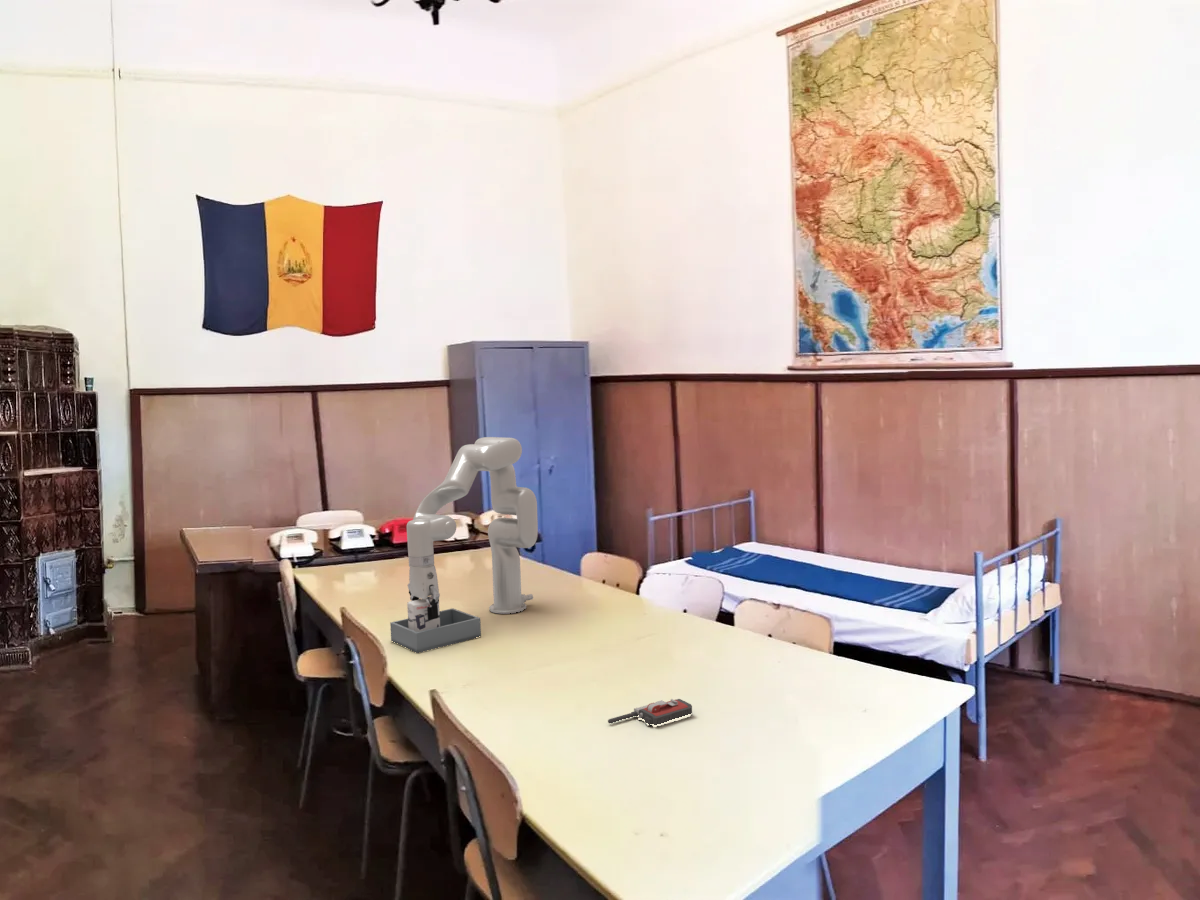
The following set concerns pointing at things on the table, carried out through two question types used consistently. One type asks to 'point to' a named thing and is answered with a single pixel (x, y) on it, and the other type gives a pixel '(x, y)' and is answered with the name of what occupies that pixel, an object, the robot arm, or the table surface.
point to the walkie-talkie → (659, 712)
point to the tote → (437, 631)
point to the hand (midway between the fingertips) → (424, 615)
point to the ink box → (421, 616)
